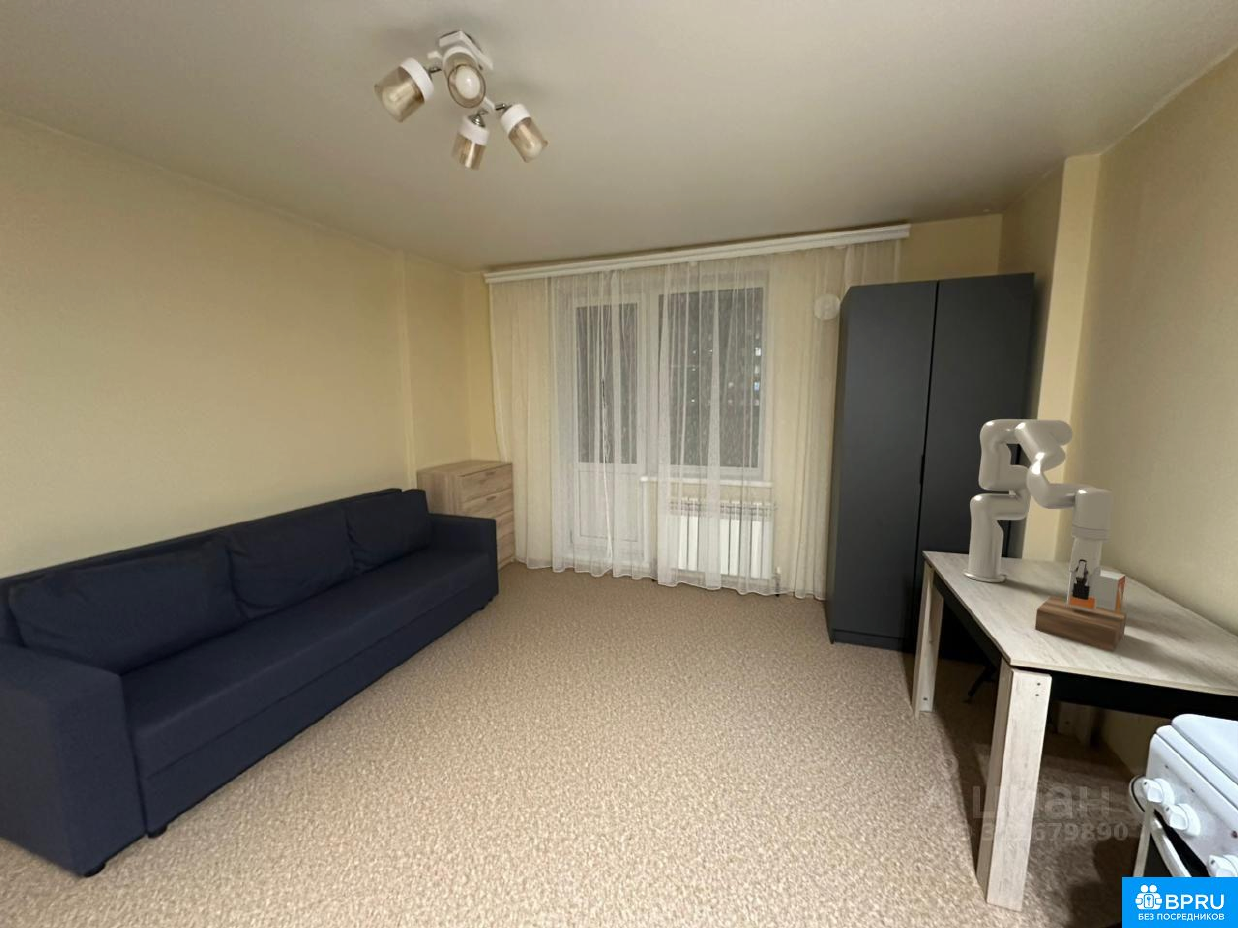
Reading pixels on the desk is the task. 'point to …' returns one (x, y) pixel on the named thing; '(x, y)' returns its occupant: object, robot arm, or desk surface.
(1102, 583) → the small box
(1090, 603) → the skincare box
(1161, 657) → the desk surface
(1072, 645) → the desk surface
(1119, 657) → the desk surface
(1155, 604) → the desk surface
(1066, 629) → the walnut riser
